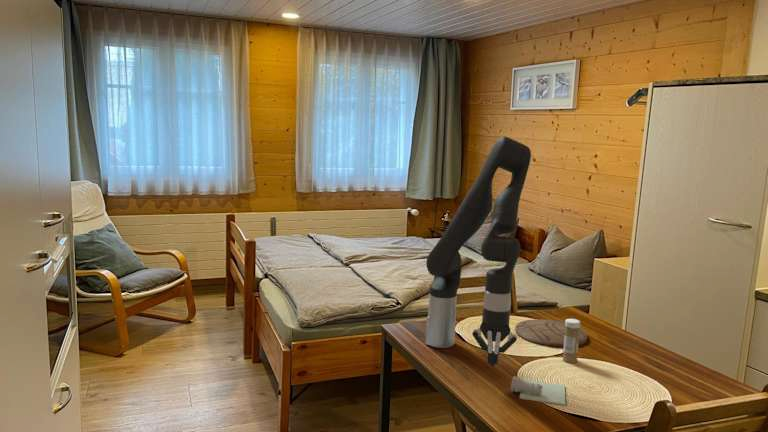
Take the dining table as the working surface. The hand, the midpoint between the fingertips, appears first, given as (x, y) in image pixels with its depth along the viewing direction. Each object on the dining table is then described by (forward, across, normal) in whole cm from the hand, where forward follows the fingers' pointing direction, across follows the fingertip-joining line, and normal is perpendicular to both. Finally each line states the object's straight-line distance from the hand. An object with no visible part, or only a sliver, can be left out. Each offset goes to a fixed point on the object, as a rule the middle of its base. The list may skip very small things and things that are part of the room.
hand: (492, 364), depth 167 cm
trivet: (+7, +16, +50) cm, 53 cm away
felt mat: (+6, +14, 0) cm, 16 cm away
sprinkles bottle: (+6, +22, +27) cm, 36 cm away
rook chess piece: (+4, +6, -2) cm, 7 cm away
